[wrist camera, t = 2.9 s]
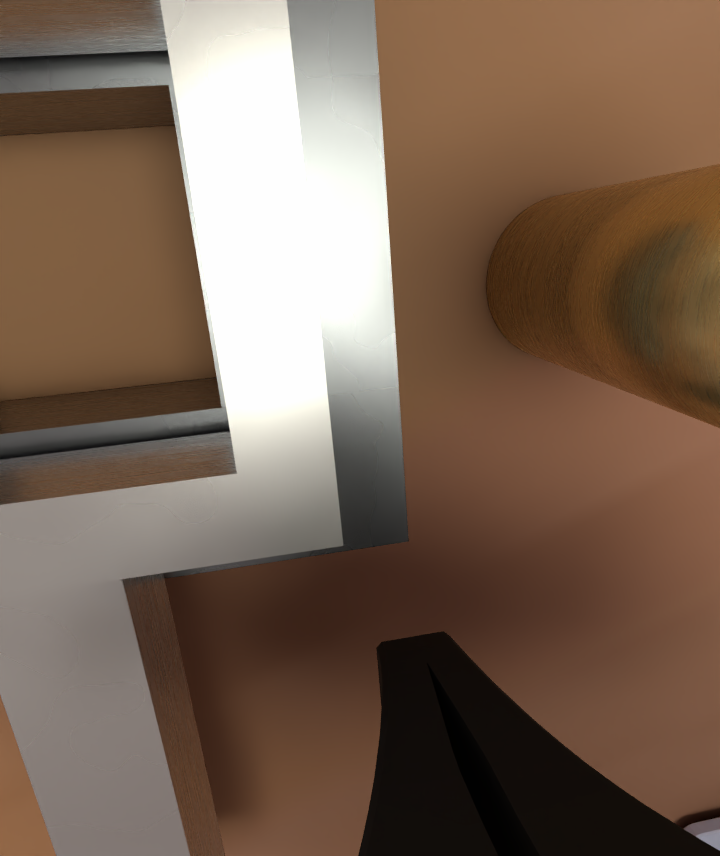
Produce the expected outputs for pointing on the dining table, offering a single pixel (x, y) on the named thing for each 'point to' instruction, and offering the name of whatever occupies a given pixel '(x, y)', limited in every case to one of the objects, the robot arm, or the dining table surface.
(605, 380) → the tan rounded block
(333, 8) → the block
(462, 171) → the dining table surface
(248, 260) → the collar
